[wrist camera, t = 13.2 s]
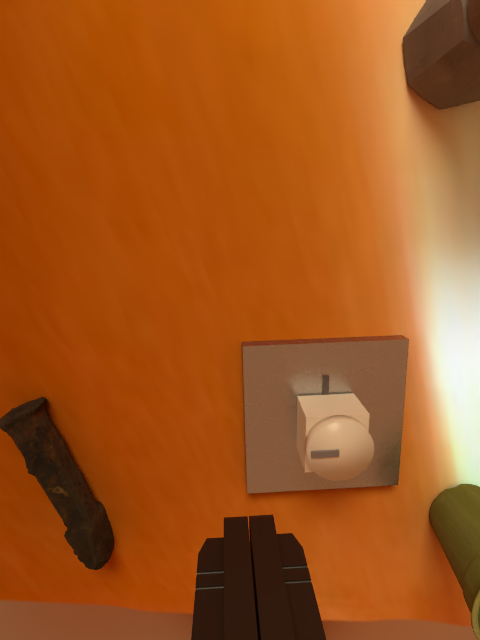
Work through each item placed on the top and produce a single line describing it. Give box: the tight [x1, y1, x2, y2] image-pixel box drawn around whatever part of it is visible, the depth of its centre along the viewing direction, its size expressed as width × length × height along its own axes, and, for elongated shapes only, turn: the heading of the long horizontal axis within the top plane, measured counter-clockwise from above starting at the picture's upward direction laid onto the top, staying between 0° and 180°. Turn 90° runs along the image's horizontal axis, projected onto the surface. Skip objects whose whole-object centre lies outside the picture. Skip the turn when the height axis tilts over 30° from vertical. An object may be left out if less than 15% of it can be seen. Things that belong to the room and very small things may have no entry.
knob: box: [296, 393, 374, 481], centre depth 33 cm, size 6×6×5 cm
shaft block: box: [242, 335, 409, 493], centre depth 35 cm, size 16×16×5 cm
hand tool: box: [0, 397, 114, 570], centre depth 36 cm, size 19×4×5 cm, turn 19°
